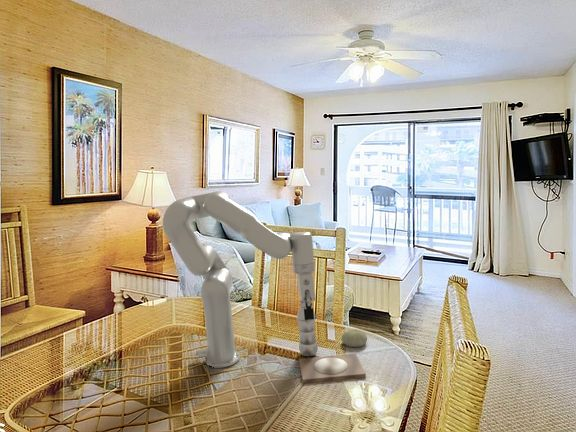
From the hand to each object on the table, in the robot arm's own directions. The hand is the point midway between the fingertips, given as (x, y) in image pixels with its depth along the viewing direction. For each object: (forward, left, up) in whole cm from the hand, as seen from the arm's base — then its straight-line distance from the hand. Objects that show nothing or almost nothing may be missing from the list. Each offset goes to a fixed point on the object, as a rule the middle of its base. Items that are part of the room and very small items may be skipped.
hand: (307, 314), depth 148 cm
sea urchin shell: (+17, +6, -15) cm, 24 cm away
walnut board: (+5, -12, -15) cm, 20 cm away
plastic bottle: (-1, 0, -15) cm, 15 cm away
